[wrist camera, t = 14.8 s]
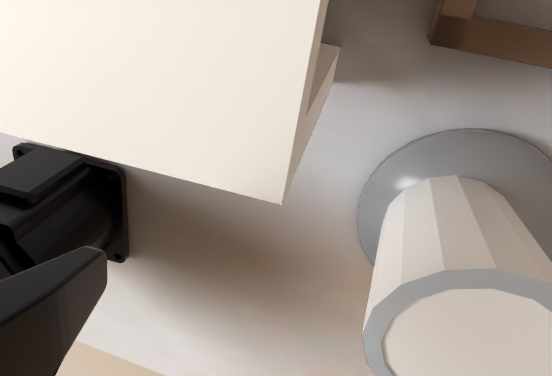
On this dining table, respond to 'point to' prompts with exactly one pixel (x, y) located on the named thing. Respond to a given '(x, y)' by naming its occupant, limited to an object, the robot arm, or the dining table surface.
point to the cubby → (170, 84)
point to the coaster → (467, 163)
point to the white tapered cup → (458, 287)
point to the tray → (488, 35)
